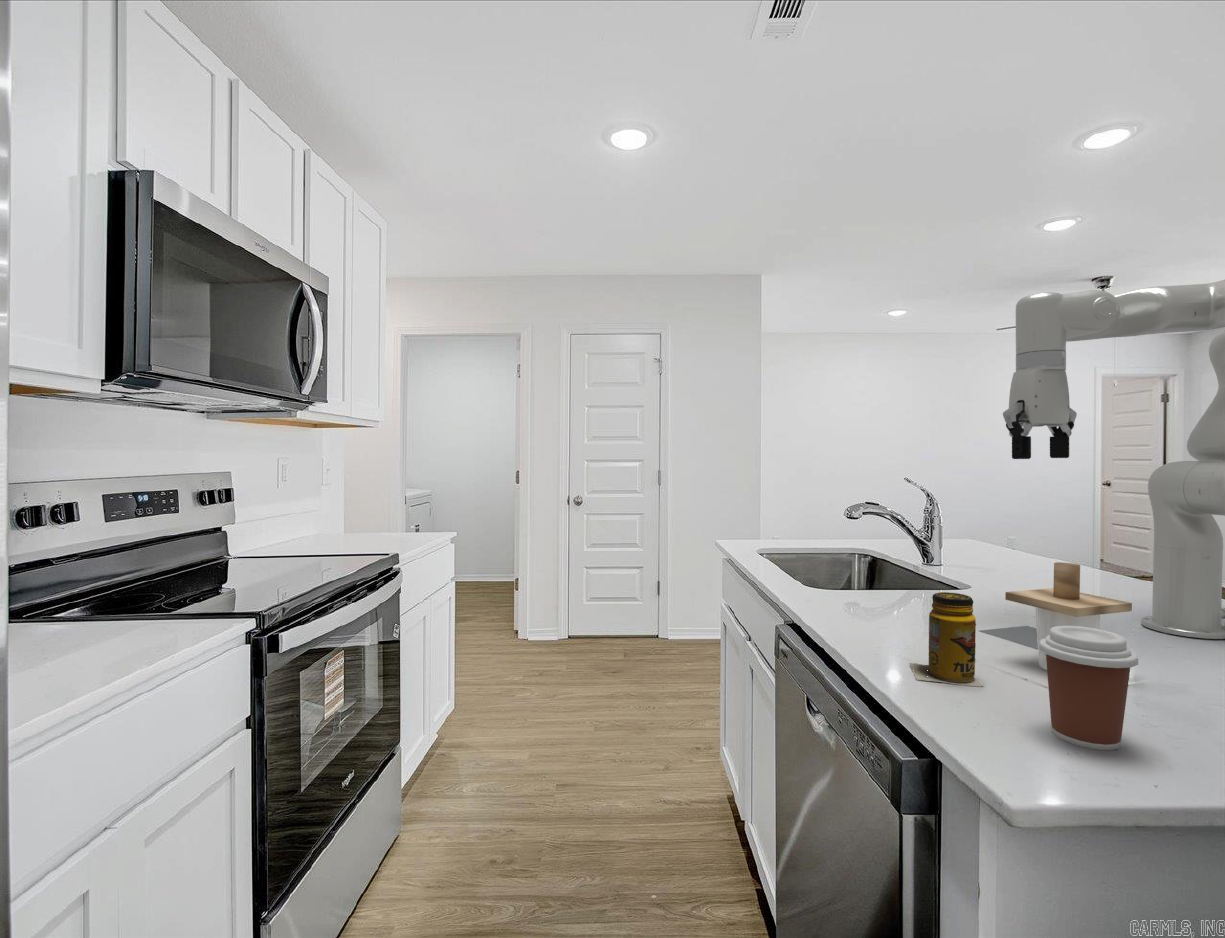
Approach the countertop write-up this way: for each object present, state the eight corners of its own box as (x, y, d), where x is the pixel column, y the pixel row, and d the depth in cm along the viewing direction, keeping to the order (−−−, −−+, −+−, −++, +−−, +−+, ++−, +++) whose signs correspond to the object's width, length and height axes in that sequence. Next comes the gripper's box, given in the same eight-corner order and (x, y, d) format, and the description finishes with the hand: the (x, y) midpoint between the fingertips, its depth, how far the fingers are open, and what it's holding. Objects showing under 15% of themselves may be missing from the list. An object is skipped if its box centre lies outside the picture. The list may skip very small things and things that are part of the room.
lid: (1057, 595, 101) (1057, 557, 101) (1131, 611, 91) (1132, 568, 91) (1005, 599, 98) (1006, 560, 98) (1076, 616, 87) (1077, 572, 87)
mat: (1026, 627, 119) (1026, 625, 119) (1092, 646, 107) (1092, 643, 107) (977, 632, 115) (977, 630, 115) (1039, 652, 103) (1040, 650, 103)
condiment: (983, 687, 88) (984, 602, 87) (916, 681, 90) (917, 597, 90) (970, 670, 95) (971, 591, 94) (909, 665, 97) (910, 587, 97)
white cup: (1110, 682, 90) (1112, 613, 89) (1049, 678, 91) (1050, 610, 91) (1081, 665, 97) (1082, 600, 97) (1025, 661, 99) (1026, 598, 99)
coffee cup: (1046, 746, 70) (1048, 639, 69) (1029, 715, 78) (1031, 619, 78) (1150, 763, 66) (1152, 649, 66) (1120, 728, 74) (1122, 628, 74)
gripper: (1053, 368, 120) (1053, 457, 120) (986, 365, 114) (986, 459, 114) (1094, 362, 113) (1094, 457, 113) (1026, 359, 107) (1026, 459, 107)
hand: (1040, 458), depth 114 cm, fingers open, 9 cm apart
